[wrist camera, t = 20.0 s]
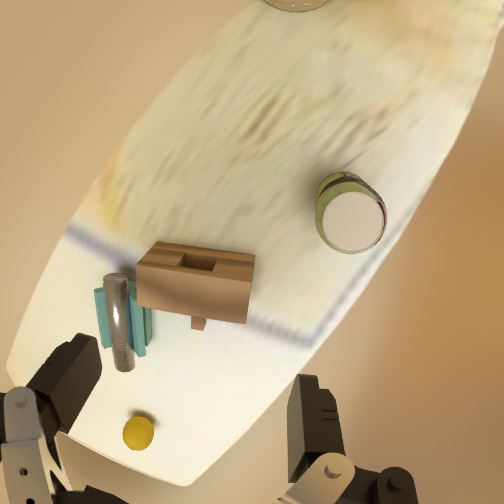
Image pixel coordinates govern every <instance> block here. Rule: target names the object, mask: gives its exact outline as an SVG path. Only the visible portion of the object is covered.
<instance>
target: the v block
mask: <svg viewBox="0 0 504 504" xmlns="http://www.w3.org/2000/svg"><path fill="white" fill-rule="evenodd" d="M103 285H104V283H103ZM94 294H95V302H96V310H97V317H98V324H99V330H100V336H101V342H102V346H103V347H104V349H105V348H108V347H112V346H111V339H110V332H109V325H108V318H107V309H106V301H105V291H104V287H102V288H97V289H94ZM128 296H129V310H130V322H131V333H132V342H133V349H134V351H135V352H136V353H137V355H138V356H139V357H143V356H146V351H145V346H148V344H149V342H150V341H151V339H152V330H151V308H146V307H141V306H137V286H136V281H133V280H128Z"/></svg>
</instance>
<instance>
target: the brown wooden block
mask: <svg viewBox="0 0 504 504" xmlns="http://www.w3.org/2000/svg"><path fill="white" fill-rule="evenodd" d="M254 260H255V255H248V254H241V253H234V252H227V251H220V250H213V249H206V248H199V247H192V246H185V245H178V244H171V243H164V242H156V243H155V244H154V246H153V247H152V248H151V249H150V250H149V251H148V252H147V253H146V254H145V255H144V256H143V257H142V258H141V260H140V261H139V262H138V263H137V264H136V286H137V306H141V307H146V308H151V309H156V310H162V311H167V312H172V313H178V314H184V315H190V316H191V329H196V330H202V331H203V330H204V327H205V323H206V318H208V319H214V320H220V321H227V322H234V323H241V324H246V318H247V312H248V305H249V298H250V291H251V284H252V276H253V268H254Z"/></svg>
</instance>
